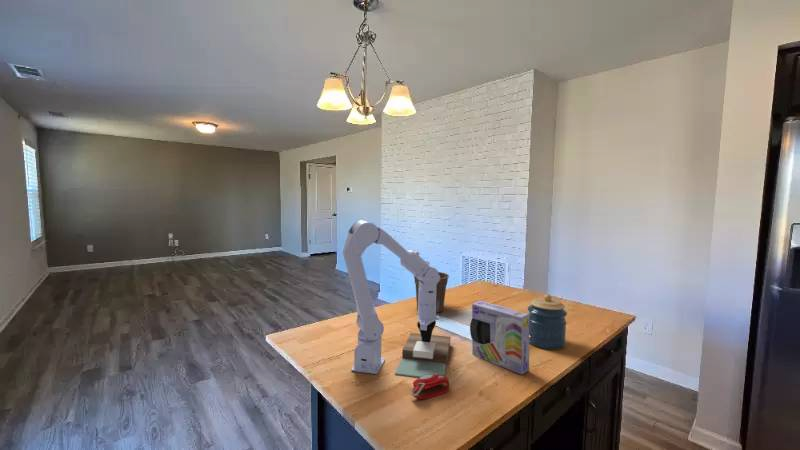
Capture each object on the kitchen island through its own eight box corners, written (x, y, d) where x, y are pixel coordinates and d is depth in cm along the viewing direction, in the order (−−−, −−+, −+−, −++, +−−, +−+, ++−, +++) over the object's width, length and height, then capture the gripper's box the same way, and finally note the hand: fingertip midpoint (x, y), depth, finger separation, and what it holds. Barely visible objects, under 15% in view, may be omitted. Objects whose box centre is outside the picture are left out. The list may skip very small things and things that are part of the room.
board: (446, 364, 107) (446, 354, 107) (402, 358, 110) (402, 349, 110) (450, 345, 121) (450, 336, 121) (410, 341, 124) (410, 332, 124)
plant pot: (430, 301, 171) (431, 269, 170) (455, 310, 159) (456, 275, 157) (405, 308, 161) (406, 273, 159) (430, 317, 148) (431, 280, 147)
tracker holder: (411, 374, 99) (446, 367, 98) (415, 390, 98) (449, 384, 98) (408, 388, 87) (447, 380, 87) (412, 406, 86) (451, 399, 86)
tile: (432, 358, 104) (432, 352, 104) (412, 356, 106) (413, 350, 105) (435, 348, 111) (435, 342, 111) (416, 346, 112) (417, 340, 112)
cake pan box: (468, 353, 115) (469, 301, 114) (477, 349, 118) (479, 298, 117) (520, 377, 100) (523, 317, 99) (529, 371, 104) (532, 313, 102)
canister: (554, 354, 115) (556, 302, 114) (519, 341, 125) (521, 293, 124) (572, 343, 124) (574, 295, 122) (537, 332, 134) (539, 287, 132)
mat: (443, 380, 98) (443, 379, 98) (394, 374, 101) (394, 373, 101) (446, 364, 107) (446, 363, 107) (401, 359, 110) (401, 358, 110)
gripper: (437, 311, 104) (435, 355, 105) (441, 297, 118) (440, 336, 119) (413, 309, 105) (412, 352, 106) (421, 295, 119) (420, 334, 120)
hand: (426, 343), depth 113 cm, fingers closed
